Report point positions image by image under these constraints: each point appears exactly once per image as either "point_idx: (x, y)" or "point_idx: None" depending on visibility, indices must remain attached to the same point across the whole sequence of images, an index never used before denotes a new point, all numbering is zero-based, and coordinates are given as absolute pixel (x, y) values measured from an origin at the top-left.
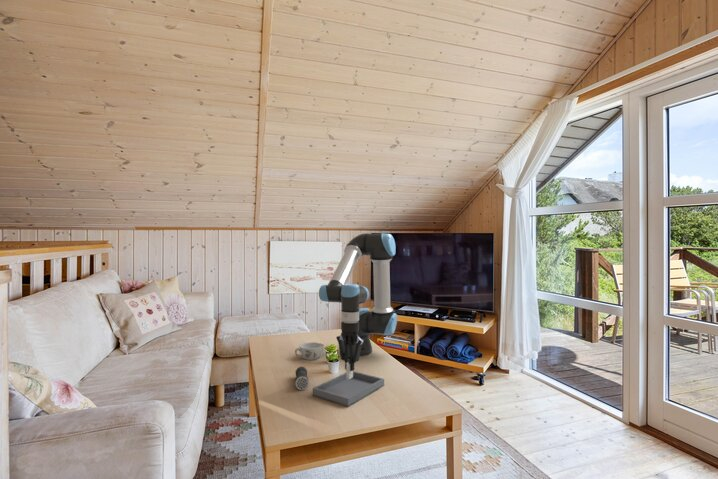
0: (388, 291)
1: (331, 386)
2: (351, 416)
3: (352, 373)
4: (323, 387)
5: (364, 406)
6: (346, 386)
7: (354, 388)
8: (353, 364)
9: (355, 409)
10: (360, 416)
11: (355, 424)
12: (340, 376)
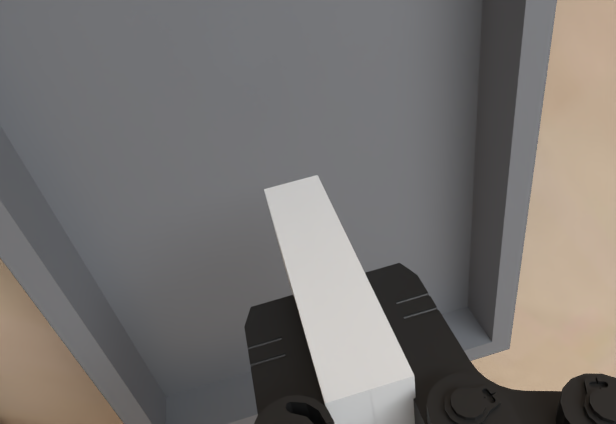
0: None
1: (78, 250)
2: (555, 340)
3: (336, 222)
4: (127, 359)
5: (566, 226)
6: (181, 127)
7: (295, 91)
8: (456, 369)
9: (534, 289)
10: (599, 308)
11: (609, 357)
12: None
